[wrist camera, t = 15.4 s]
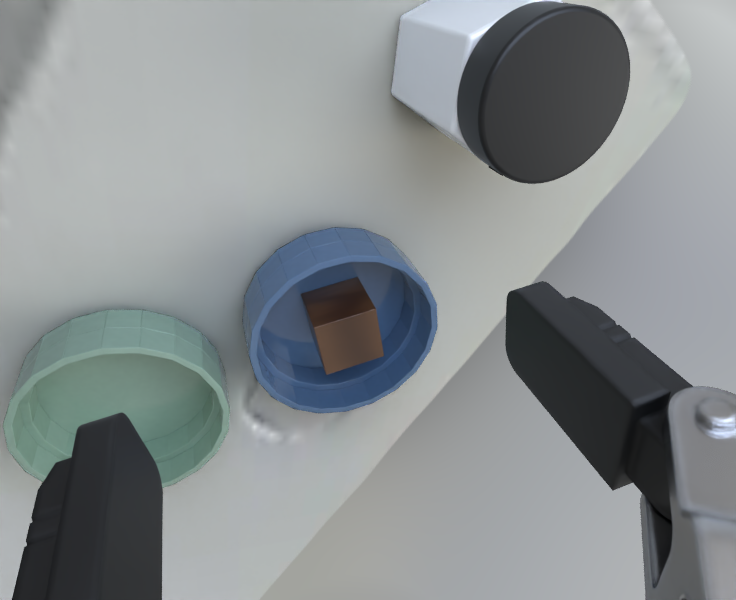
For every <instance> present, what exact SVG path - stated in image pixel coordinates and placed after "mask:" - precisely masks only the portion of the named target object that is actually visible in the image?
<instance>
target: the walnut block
mask: <svg viewBox="0 0 736 600" xmlns="http://www.w3.org/2000/svg"><path fill="white" fill-rule="evenodd" d="M301 297H302V301H303V304H304V308H305V312H306V315H307V319H308V323H309V326H310V330H311V333H312V337H313V340H314V343H315V346H316V349H317V351H318V354H319V357H320V359H321V362H322V365H323V368H324V370H325V373H326V375H328V374H331V373H334V372H337V371H340V370H343V369H346V368H349V367H352V366H355V365H359V364H362V363H365V362H368V361H371V360H374V359H377V358H380V357H383V356H384V352H383V346H382V341H381V335H380V329H379V323H378V317H377V311H376V308H375V306H374V304H373V303H372V301H371V299H370V297H369V296H368V294H367V292H366V290H365V289H364V287H363V285H362V283H361V282H360V280H359V278H358V277H355V278H352V279H348V280H345V281H342V282H338V283H335V284H332V285H328V286H325V287H321V288H318V289H315V290H311V291H308V292H305V293H301Z"/></svg>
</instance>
